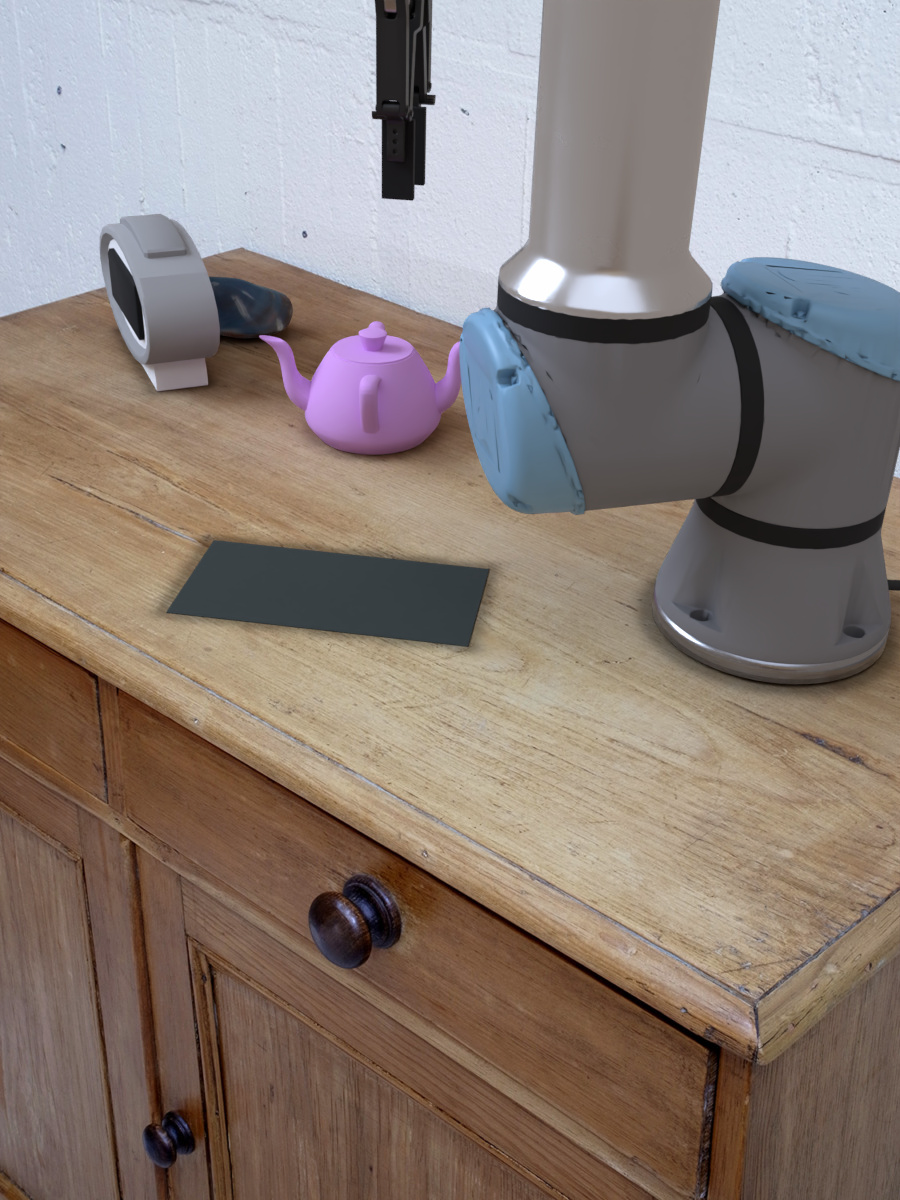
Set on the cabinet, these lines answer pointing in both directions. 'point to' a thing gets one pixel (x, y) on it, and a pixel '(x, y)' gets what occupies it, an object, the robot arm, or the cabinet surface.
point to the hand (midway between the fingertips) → (403, 190)
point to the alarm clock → (161, 298)
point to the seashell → (249, 308)
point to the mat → (334, 592)
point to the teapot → (370, 392)
